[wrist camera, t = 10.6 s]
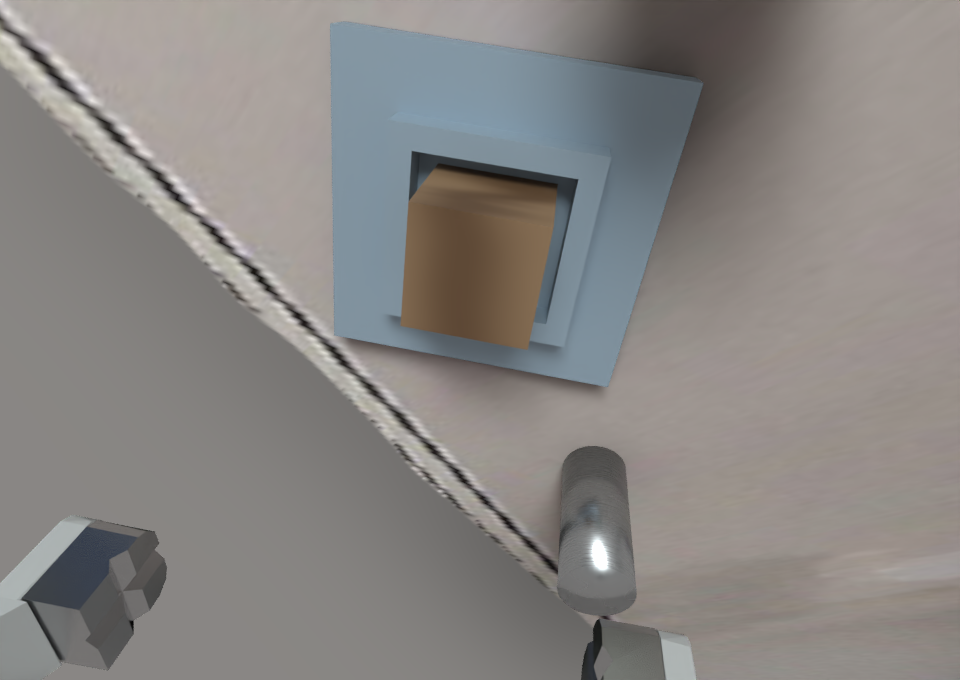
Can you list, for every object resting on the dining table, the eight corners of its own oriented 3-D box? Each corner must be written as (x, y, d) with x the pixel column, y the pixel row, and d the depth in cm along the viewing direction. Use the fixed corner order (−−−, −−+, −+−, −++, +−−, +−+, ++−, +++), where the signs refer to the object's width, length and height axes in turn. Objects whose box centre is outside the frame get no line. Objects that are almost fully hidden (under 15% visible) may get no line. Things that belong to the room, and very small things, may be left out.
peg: (632, 452, 32) (645, 575, 25) (617, 496, 34) (626, 621, 27) (568, 441, 32) (564, 559, 26) (558, 485, 34) (551, 606, 28)
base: (696, 77, 22) (711, 89, 19) (606, 369, 29) (609, 405, 27) (344, 21, 23) (314, 25, 20) (344, 320, 30) (323, 351, 28)
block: (557, 183, 23) (553, 227, 19) (535, 291, 26) (527, 350, 22) (438, 163, 24) (408, 201, 19) (428, 271, 26) (400, 326, 22)
